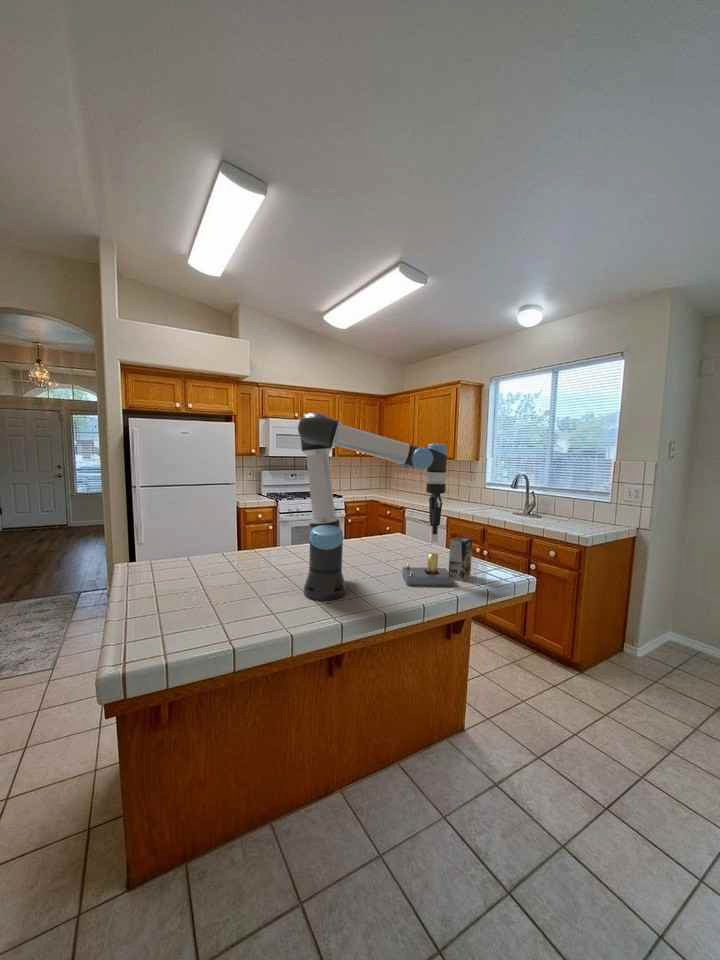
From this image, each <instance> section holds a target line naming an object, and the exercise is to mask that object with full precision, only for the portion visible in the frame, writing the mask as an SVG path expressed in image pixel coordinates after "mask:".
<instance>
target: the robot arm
mask: <svg viewBox="0 0 720 960" xmlns="http://www.w3.org/2000/svg"><path fill="white" fill-rule="evenodd" d="M297 433H298V435H299V437H300V445H301V452H302V453H303V454H304V455H305V456H306V464H307V473H308V474H307V475H308V482H309V483H308V484H309V494H310V504H311V512H312V517H311V519H310V520H309V522H308V523H309V531H310V534H309V537H308V538H309V567H308V568H309V570H308V574H307V577H306V579H305V583H304V585H303V595H304V596H305V597H306V598H308V599H313V600H315V601H334V600H338V599H341V598H343V597H345V596H346V594H347V585H346V582H345V579H344V575H343V545H344V544H343V543H344V542H343V541H344V535H343V534H344V533H343V530H342V528H341V524H340V517H338V515H336V513H335V502H334V492H333V484H332V473H331V461H330V452H331V451H332V450H333V448H334V447H336V446H337V447H340V448H343V449H347V450H350V451H354V452H358V453H361V454H364V455H369V456H372V457H376V458H379V459H382V460H387V461H391V462H394V463H397V466H398V467H400V468H412V469H417V470H419V471H421V470H426V482H427V483H426V488H425V492H426V493H429V494H430V496H429V498H428V503H429V505H428V508H429V509H428V511H429V520H428V521H429V526H430V532H429V534H430V535H429V536H430V537H429V542H430V543H438V541H439V538H438V537H439V526H440V525H441V518H442V516H441V515H442V509H443V508H442V507H443V502H442V497H441V494H442V495H443V494H445V493H446V491H447V490H446V487H447V484H445V483H446V481H447V477H448V475H447V465H448V462H447V461H448V446H447V445H446V444H445V443H429V444H428V445H427V447H424V446H423V447H422V446H421V447H419V446H417V445H414V444H413V445H412V444H409V443H406V442H402V441H400V440H395V439H392V438H388V437H386V436H382V435H378V434H376V433H373V432H369V431H365V430H361V429H358V428H354V427H351V426H348V425H343V424H342V423H341V421H340V420H338V419H333V418H331V417H328V416H326V415H324V414H322V413H320V412H314V411H313V412H309V413H307V414H305V415H303V416H302V417H301V418H300V420H299V422H298V425H297Z"/></svg>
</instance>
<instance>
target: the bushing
mask: <svg viewBox="0 0 720 960" xmlns="http://www.w3.org/2000/svg"><path fill="white" fill-rule="evenodd" d="M438 558H439V554H438V553H437V552H427V559H426V560H427V562H426V568H427V574H437V568H438V563H439V562H438Z"/></svg>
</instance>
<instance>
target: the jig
mask: <svg viewBox="0 0 720 960" xmlns="http://www.w3.org/2000/svg"><path fill="white" fill-rule="evenodd" d="M401 572H402V573H401V574H402V577H403V580H404V583H405V584H406V586H414V587H415V586H416V587H417V586H419V587H423V586H424V587H454V579H453V576H452V575H451V574H450V573H449V570H448V569H447V568H446V567H437V574H427V567H415V566H413V567H410V564H408V563H407V564H406V566H405V567H404V566H403V567H402V571H401Z"/></svg>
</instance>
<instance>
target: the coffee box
mask: <svg viewBox="0 0 720 960" xmlns="http://www.w3.org/2000/svg"><path fill="white" fill-rule="evenodd" d="M449 542H450V544H449V558H448V572H449V573H450V574H451V575H452V576H453V580H456V581H460V582H463V581H464V580H466V579H468V578H469V577H471V572H472V571H471V569H472V568H471V567H472V551H473V550H472V547H473V538H469V537H461V536H457V537H456V538H451V539H450V540H449Z"/></svg>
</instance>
